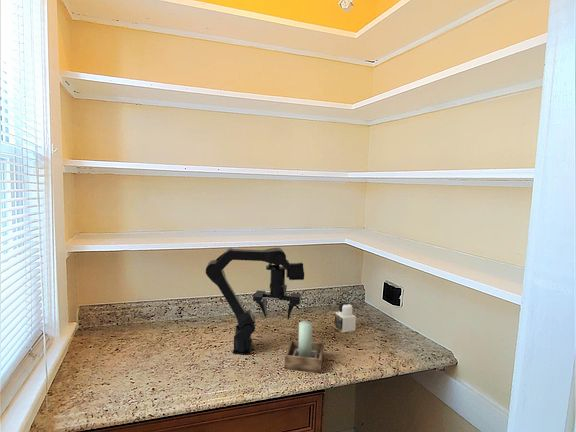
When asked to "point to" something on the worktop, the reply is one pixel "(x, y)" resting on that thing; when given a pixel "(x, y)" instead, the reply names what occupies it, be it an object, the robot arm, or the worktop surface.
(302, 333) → the sage peg
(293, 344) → the walnut box
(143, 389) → the worktop surface
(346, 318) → the medicine bottle
